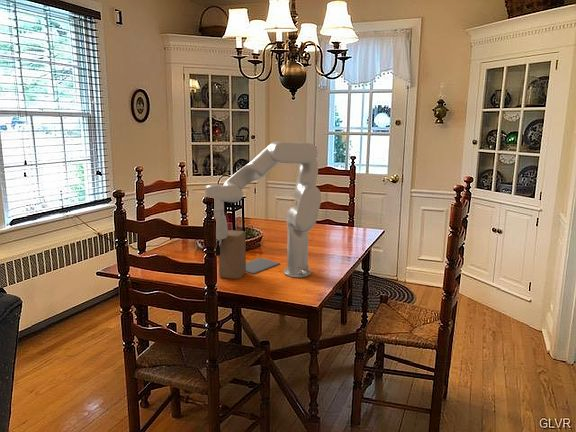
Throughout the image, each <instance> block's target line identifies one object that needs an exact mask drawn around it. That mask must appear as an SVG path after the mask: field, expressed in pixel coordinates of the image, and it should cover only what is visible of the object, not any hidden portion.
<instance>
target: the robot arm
mask: <svg viewBox="0 0 576 432" xmlns="http://www.w3.org/2000/svg"><path fill="white" fill-rule="evenodd" d="M318 152H319V151H318V149H317V147H316V146H315V145H314V144H313V143H311V142H306V141H297V142H286V141H285V142H284V141H277V140H275V141H271V143H269V144H268V145H267V146H266V147H265V148H264V149H263V150H262V151H261V152H259V153H258V154H257V155H256V156H255V157H254V158H253V159H252V160H251V161H250V162H248V163H247V164H245V165H244V166H243V167H241V168H240V169H239V170H237V171H236V172H235V173H233V174H232V175H231V176H230V177H229V178H228V179H227V180H225V181H224V183H223V184H219V183H216V184H215V183H211V184H207V185H205V190H204V193H205V198H206V197H211V198H214V217H215V219H216V239H217V240H216V241H217V246H216V256H215V257H219V255H220V246H221V243H222V241H224V240H225V238H227V237H228V230H229V229H228V221H227V217H226V215H225V202H227V203H237V202H240V201H241V200H242V198H243V197H244V191H243V189H244V188H245V187H246V186H247V185H249V184H251V183H252V182H255V181H257V180H260V179H263V178H264V177H265V176H267V174H268V173H269V172H271V171H272V170H273V168H275V167H277V165H279V163H281V164H298V165H297V166H298V174H297V179H296V183H295V187H294V191H293V197H294V199H295V201H296V202H298V203H299V204H298V205H296V204H295V205H293V206H291V207H290V208H289V209H288V210H287V212H286V218H285V219H286V225H287V226H286V228H287V248H286V249H287V250H286V251H287V254H286V255H287V256H286V257H287V267H286V268H284V270H283V274H284V275H286V277H287V276H288V277H290V278H296V279H297V278H298V279H299V278H307V277H309V276H310V275H312V270H311V269H310V268H309V239H310V238H309V231H311V230H312V229H313V228H314V227H315V225H316V223H317V219H318V217H319V211H320V208H321V203H322V193H321V191H320V189H319V187H317V186H316V184H317V180H318V175H319V174H318V173H319V164H318V161H317V158H318ZM204 216H205V217H206V212H204Z"/></svg>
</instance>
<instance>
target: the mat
mask: <svg viewBox="0 0 576 432" xmlns="http://www.w3.org/2000/svg"><path fill="white" fill-rule="evenodd" d="M280 264H281V263H280V262H278V261H274V260H271V259H266V258H263V257H258V258H255V259H252V260H250V261H246V272H245V273H248V274H250V275H256V274H258V273H260V272H263V271H266V270H268V269H272V268H274V267H277V266H279V265H280Z"/></svg>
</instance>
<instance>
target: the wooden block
mask: <svg viewBox="0 0 576 432" xmlns="http://www.w3.org/2000/svg"><path fill="white" fill-rule="evenodd" d="M246 239H247V238H246V231H244V230H234V229H233V230H231V229H228V237H227V238H225V240H224V241H222V243H221V246H220V255H218V277H219V278H224V279H232V280H233V279H235V280H240V279H241V278H242V277H243V276H244V275H245V274H246V273H247V272H246V262H247V260H246V259H247V257H246V252H247V251H246V250H247V249H246V247H247V246H246V245H247V243H246V241H247V240H246Z"/></svg>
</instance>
